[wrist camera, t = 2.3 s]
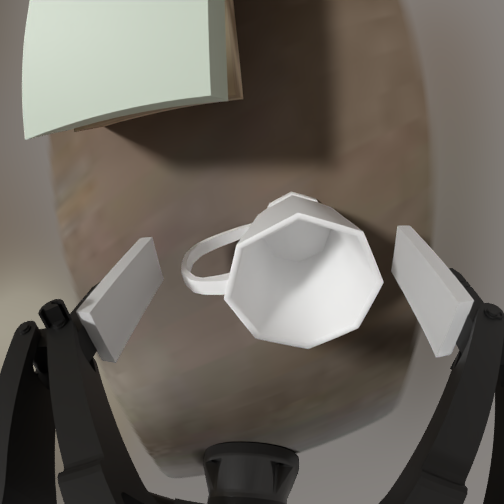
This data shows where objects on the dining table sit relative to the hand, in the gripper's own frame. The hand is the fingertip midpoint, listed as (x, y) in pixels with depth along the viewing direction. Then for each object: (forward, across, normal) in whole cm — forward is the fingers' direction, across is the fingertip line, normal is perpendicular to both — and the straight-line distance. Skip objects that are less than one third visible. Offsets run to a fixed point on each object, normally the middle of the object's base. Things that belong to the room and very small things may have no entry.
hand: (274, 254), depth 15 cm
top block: (+2, +6, -14) cm, 16 cm away
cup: (+5, 0, 0) cm, 5 cm away
